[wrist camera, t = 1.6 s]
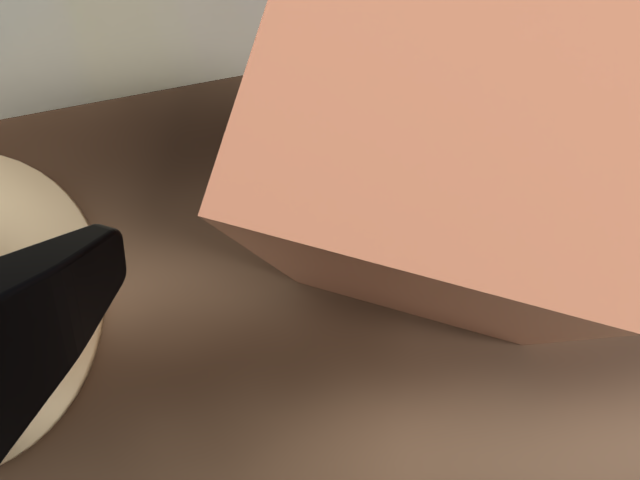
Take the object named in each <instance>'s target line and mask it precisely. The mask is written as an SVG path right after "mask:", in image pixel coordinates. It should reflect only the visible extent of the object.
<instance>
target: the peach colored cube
mask: <svg viewBox="0 0 640 480" xmlns="http://www.w3.org/2000/svg"><path fill="white" fill-rule="evenodd" d="M198 216H199V217H200V218H202V219H203V220H205V221H206V222H208V223H209V224H211V225H212V226H214V227H215V228H217V229H218V230H220V231H221V232H223V233H224V234H226V235H227V236H229V237H230V238H232V239H233V240H235V241H236V242H238V243H239V244H241V245H242V246H244V247H245V248H247V249H248V250H250V251H251V252H253V253H254V254H256V255H257V256H259V257H260V258H262V259H263V260H265V261H266V262H267V263H269V264H270V265H272V266H273V267H275V268H276V269H278V270H279V271H281V272H282V273H284V274H285V275H287V276H288V277H290V278H291V279H293V280H294V281H296V282H298V283H302V284H305V285H309V286H312V287H316V288H319V289H323V290H327V291H330V292H334V293H337V294H341V295H344V296H348V297H352V298H355V299H359V300H362V301H366V302H369V303H373V304H377V305H380V306H384V307H387V308H391V309H394V310H398V311H402V312H405V313H409V314H412V315H416V316H419V317H423V318H427V319H430V320H434V321H437V322H441V323H444V324H448V325H452V326H455V327H459V328H462V329H466V330H469V331H473V332H477V333H480V334H484V335H487V336H491V337H494V338H498V339H502V340H505V341H509V342H512V343H516V344H519V345H533V344H544V343H555V342H566V341H577V340H588V339H599V338H611V337H622V336H633V335H640V0H268V1H267V4H266V7H265V10H264V13H263V16H262V19H261V22H260V26H259V29H258V32H257V35H256V38H255V41H254V44H253V47H252V50H251V53H250V56H249V59H248V62H247V65H246V69H245V72H244V75H243V78H242V81H241V84H240V87H239V90H238V93H237V96H236V99H235V102H234V105H233V109H232V112H231V115H230V118H229V121H228V124H227V127H226V130H225V133H224V136H223V139H222V142H221V145H220V149H219V152H218V155H217V158H216V161H215V164H214V167H213V170H212V173H211V176H210V179H209V182H208V185H207V188H206V192H205V195H204V198H203V201H202V204H201V207H200V210H199V213H198Z"/></svg>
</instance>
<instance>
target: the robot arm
mask: <svg viewBox="0 0 640 480" xmlns="http://www.w3.org/2000/svg"><path fill="white" fill-rule="evenodd" d="M126 271H127V267H126V259H125V251H124V243H123V236H122V234H121V232H120V231H119V230H118V229H116V228H112V227H109V226H105V225H102V224H92V225H89V226H86V227H83V228H80V229H78V230H75V231H72V232H69V233H66V234H63V235H60V236H57V237H54V238H51V239H49V240H46V241H43V242H40V243H37V244H34V245H31V246H28V247H25V248H23V249H20V250H17V251H14V252H11V253H8V254H5V255H2V256H0V463H1V462H2V461H3V459H4V458H5V457H6V455H7V454H8V453H9V451H10V450H11V449H12V447H13V446H14V445H15V443H16V442H17V441H18V439H19V438H20V437H21V435H22V434H23V433H24V431H25V430H26V429H27V427H28V426H29V425H30V423H31V422H32V420H33V419H34V418H35V416H36V415H37V414H38V412H39V411H40V410H41V408H42V407H43V406H44V404H45V403H46V402H47V400H48V399H49V398H50V396H51V395H52V394H53V392H54V391H55V390H56V388H57V387H58V386H59V384H60V383H61V382H62V380H63V379H64V378H65V376H66V375H67V374H68V372H69V371H70V369H71V368H72V367H73V365H74V364H75V362H76V361H77V360H78V358H79V357H80V355H81V354H82V352H83V350H84V349H85V347H86V346H87V344H88V342H89V341H90V339H91V337H92V335H93V334H94V332H95V330H96V329H97V327H98V325H99V324H100V322H101V320H102V318H103V317H104V315H105V313H106V312H107V310H108V308H109V307H110V305H111V303H112V301H113V300H114V298H115V296H116V295H117V293H118V291H119V290H120V288H121V286H122V284H123V282H124V280H125V277H126Z"/></svg>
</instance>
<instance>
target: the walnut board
mask: <svg viewBox="0 0 640 480" xmlns="http://www.w3.org/2000/svg"><path fill="white" fill-rule="evenodd" d="M242 78H243V75H242V76H237V77H231V78H226V79H220V80H215V81H210V82H204V83H199V84H193V85H188V86H182V87H177V88H171V89H166V90H160V91H155V92H150V93H144V94H139V95H133V96H128V97H122V98H117V99H111V100H106V101H100V102H95V103H90V104H84V105H79V106H73V107H68V108H62V109H57V110H51V111H46V112H40V113H35V114H30V115H24V116H19V117H13V118H8V119H2V120H0V256H2V255H5V254H8V253H11V252H14V251H17V250H20V249H23V248H25V247H28V246H31V245H34V244H37V243H40V242H43V241H46V240H49V239H51V238H54V237H57V236H60V235H63V234H66V233H69V232H72V231H75V230H78V229H80V228H83V227H86V226H89V225H92V224H102V225H105V226H109V227H112V228H116V229H118V230H119V231H120V232H121V234H122V236H123V243H124V251H125V259H126V267H127V271H126V277H125V280H124V282H123V284H122V286H121V288H120V290H119V291H118V293H117V295H116V296H115V298H114V300H113V301H112V303H111V305H110V307H109V308H108V310H107V312H106V313H105V315H104V317H103V318H102V320H101V322H100V324H99V325H98V327H97V329H96V330H95V332H94V334H93V335H92V337H91V339H90V341H89V342H88V344H87V346H86V347H85V349H84V350H83V352H82V354H81V355H80V357H79V358H78V360H77V361H76V362H75V364H74V365H73V367H72V368H71V369H70V371H69V372H68V374H67V375H66V376H65V378H64V379H63V380H62V382H61V383H60V384H59V386H58V387H57V388H56V390H55V391H54V392H53V394H52V395H51V396H50V398H49V399H48V400H47V402H46V403H45V404H44V406H43V407H42V408H41V410H40V411H39V412H38V414H37V415H36V416H35V418H34V419H33V420H32V422H31V423H30V425H29V426H28V427H27V429H26V430H25V431H24V433H23V434H22V435H21V437H20V438H19V439H18V441H17V442H16V443H15V445H14V446H13V447H12V449H11V450H10V451H9V453H8V454H7V455H6V457H5V458H4V459H3V461H2V462H1V463H0V480H640V335H633V336H622V337H611V338H599V339H588V340H577V341H566V342H555V343H544V344H533V345H519V344H516V343H512V342H509V341H505V340H502V339H498V338H494V337H491V336H487V335H484V334H480V333H477V332H473V331H469V330H466V329H462V328H459V327H455V326H452V325H448V324H444V323H441V322H437V321H434V320H430V319H427V318H423V317H419V316H416V315H412V314H409V313H405V312H402V311H398V310H394V309H391V308H387V307H384V306H380V305H377V304H373V303H369V302H366V301H362V300H359V299H355V298H352V297H348V296H344V295H341V294H337V293H334V292H330V291H327V290H323V289H319V288H316V287H312V286H309V285H305V284H302V283H298V282H296V281H294V280H293V279H291V278H290V277H288V276H287V275H285V274H284V273H282V272H281V271H279V270H278V269H276V268H275V267H273V266H272V265H270V264H269V263H267V262H266V261H265V260H263V259H262V258H260V257H259V256H257V255H256V254H254V253H253V252H251V251H250V250H248V249H247V248H245V247H244V246H242V245H241V244H239V243H238V242H236V241H235V240H233V239H232V238H230V237H229V236H227V235H226V234H224V233H223V232H221V231H220V230H218V229H217V228H215V227H214V226H212V225H211V224H209V223H208V222H206V221H205V220H203V219H202V218H200V217H199V216H198V213H199V210H200V207H201V204H202V201H203V198H204V195H205V192H206V188H207V185H208V182H209V179H210V176H211V173H212V170H213V167H214V164H215V161H216V158H217V155H218V152H219V149H220V145H221V142H222V139H223V136H224V133H225V130H226V127H227V124H228V121H229V118H230V115H231V112H232V109H233V105H234V102H235V99H236V96H237V93H238V90H239V87H240V84H241V81H242Z"/></svg>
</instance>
